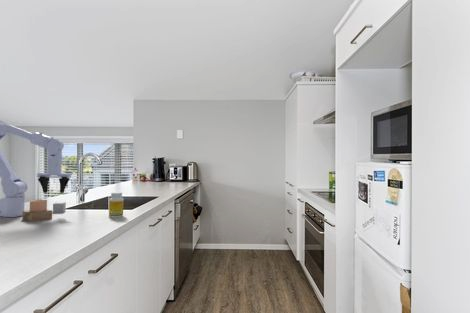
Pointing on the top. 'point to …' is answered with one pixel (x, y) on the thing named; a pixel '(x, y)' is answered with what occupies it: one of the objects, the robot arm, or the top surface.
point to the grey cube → (59, 207)
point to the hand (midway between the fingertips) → (53, 192)
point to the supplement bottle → (116, 205)
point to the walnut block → (37, 215)
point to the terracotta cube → (38, 205)
